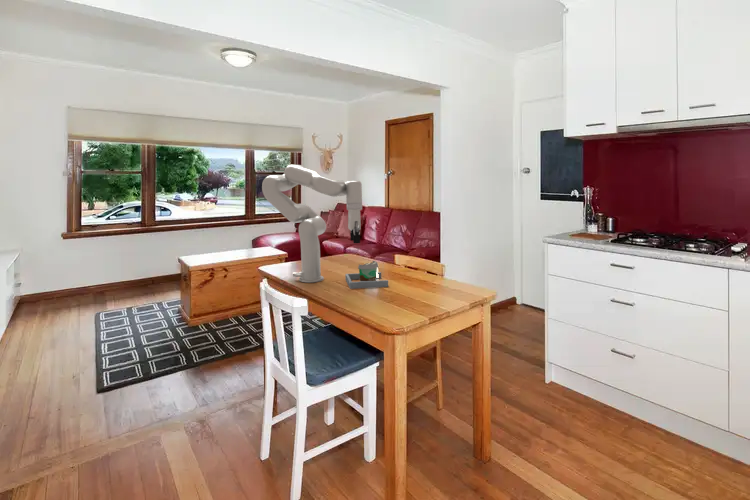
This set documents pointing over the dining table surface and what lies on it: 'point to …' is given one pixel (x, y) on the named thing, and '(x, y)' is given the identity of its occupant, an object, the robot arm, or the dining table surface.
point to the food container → (368, 271)
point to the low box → (364, 282)
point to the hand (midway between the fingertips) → (355, 241)
